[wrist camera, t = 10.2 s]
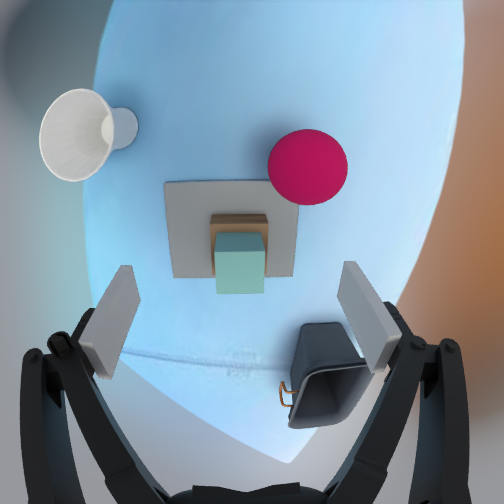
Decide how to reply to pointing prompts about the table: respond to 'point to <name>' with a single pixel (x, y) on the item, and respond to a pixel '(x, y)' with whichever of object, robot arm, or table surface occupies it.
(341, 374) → the storage bin
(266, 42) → the table surface
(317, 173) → the toy
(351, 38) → the table surface
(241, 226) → the walnut brick
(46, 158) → the cup
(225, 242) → the teal brick
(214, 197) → the build plate
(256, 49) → the table surface
